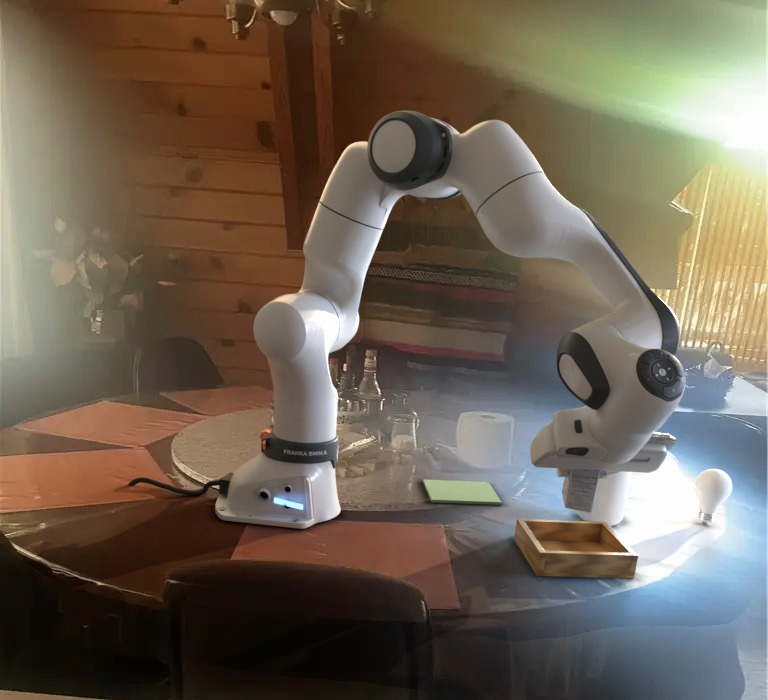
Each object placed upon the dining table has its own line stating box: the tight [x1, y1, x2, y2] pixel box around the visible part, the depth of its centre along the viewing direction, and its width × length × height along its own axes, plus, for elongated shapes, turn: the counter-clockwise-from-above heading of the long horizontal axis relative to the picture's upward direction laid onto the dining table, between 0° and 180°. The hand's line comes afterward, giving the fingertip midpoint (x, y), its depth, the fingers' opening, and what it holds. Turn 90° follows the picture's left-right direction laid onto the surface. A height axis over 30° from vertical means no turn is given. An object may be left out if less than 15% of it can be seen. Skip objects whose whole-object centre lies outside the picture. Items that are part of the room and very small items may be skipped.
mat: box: [422, 479, 503, 506], centre depth 153 cm, size 14×12×1 cm
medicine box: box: [561, 469, 601, 512], centre depth 122 cm, size 8×4×9 cm, turn 170°
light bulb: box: [694, 468, 733, 525], centre depth 145 cm, size 7×7×11 cm
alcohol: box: [576, 472, 633, 527], centre depth 141 cm, size 9×9×30 cm
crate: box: [513, 518, 639, 579], centre depth 126 cm, size 16×14×4 cm
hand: (580, 474), depth 123 cm, fingers closed on medicine box, 5 cm apart
